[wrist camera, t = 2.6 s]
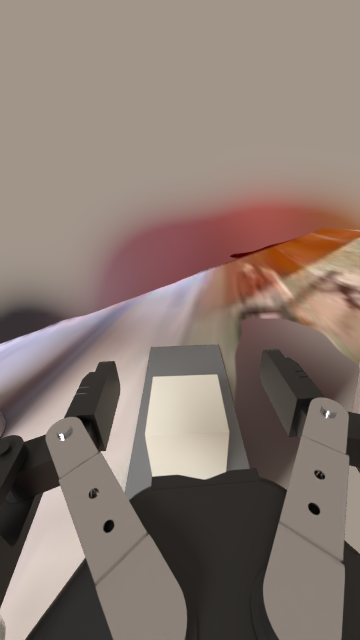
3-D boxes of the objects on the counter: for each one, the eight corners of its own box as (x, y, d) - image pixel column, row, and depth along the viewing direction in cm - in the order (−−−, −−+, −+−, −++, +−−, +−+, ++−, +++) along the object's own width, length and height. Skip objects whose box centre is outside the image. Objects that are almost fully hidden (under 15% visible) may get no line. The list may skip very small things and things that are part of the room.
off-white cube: (225, 479, 26) (229, 432, 22) (153, 481, 26) (144, 435, 22) (215, 418, 33) (217, 374, 29) (158, 420, 33) (153, 376, 29)
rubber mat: (257, 502, 25) (257, 499, 24) (123, 505, 25) (122, 503, 25) (218, 346, 49) (218, 344, 49) (151, 349, 49) (151, 347, 49)
